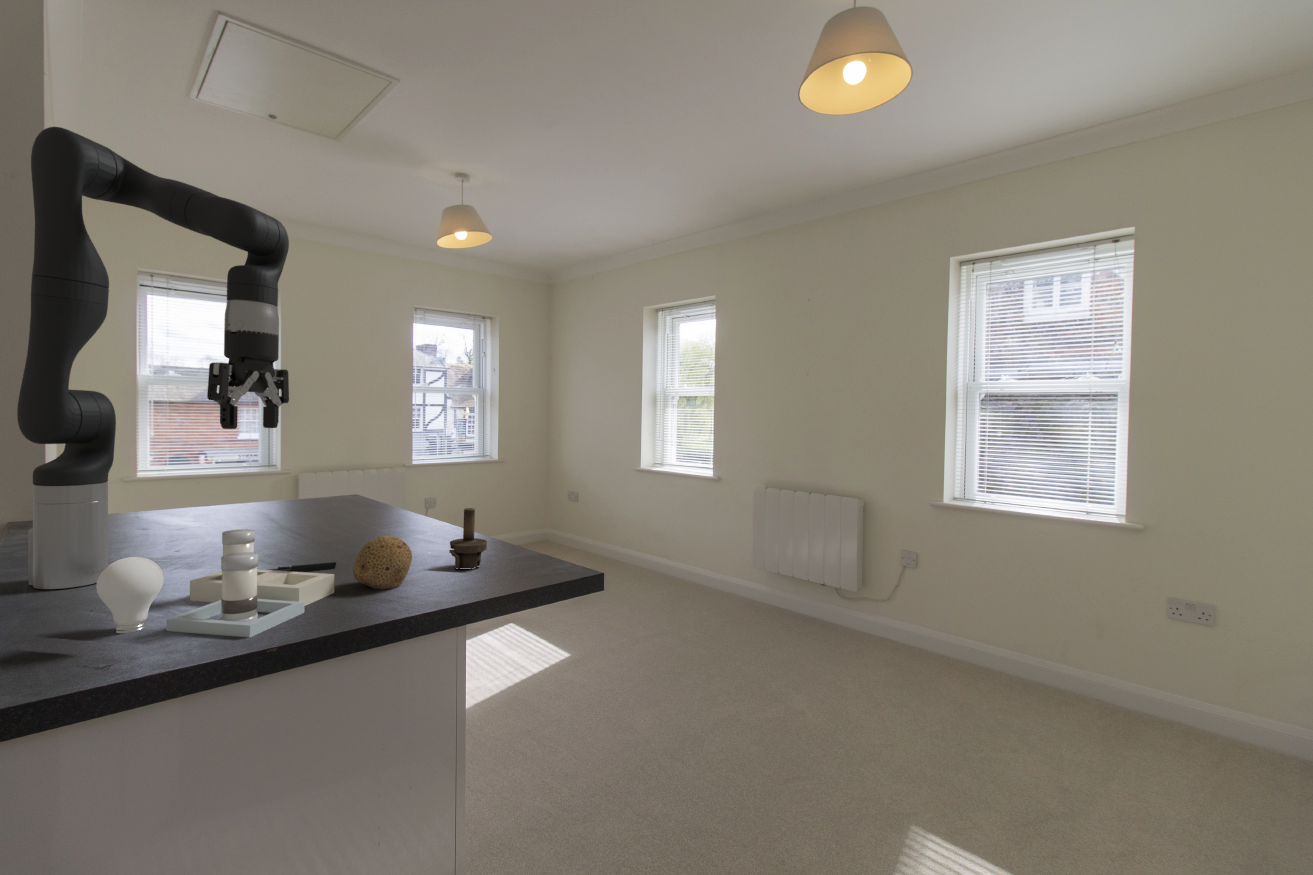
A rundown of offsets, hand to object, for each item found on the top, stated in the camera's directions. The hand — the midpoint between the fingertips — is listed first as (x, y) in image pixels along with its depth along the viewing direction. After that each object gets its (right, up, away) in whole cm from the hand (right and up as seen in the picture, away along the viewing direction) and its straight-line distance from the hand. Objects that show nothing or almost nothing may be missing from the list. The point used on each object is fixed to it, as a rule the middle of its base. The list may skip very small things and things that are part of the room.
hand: (250, 428), depth 99 cm
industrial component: (+30, -28, +21) cm, 47 cm away
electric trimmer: (+1, -28, +8) cm, 29 cm away
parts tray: (+10, -29, -17) cm, 35 cm away
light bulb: (-1, -29, -21) cm, 35 cm away
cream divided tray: (+6, -28, -6) cm, 29 cm away
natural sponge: (+21, -28, +2) cm, 36 cm away
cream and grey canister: (+10, -28, -17) cm, 34 cm away
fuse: (+2, -26, -6) cm, 27 cm away
